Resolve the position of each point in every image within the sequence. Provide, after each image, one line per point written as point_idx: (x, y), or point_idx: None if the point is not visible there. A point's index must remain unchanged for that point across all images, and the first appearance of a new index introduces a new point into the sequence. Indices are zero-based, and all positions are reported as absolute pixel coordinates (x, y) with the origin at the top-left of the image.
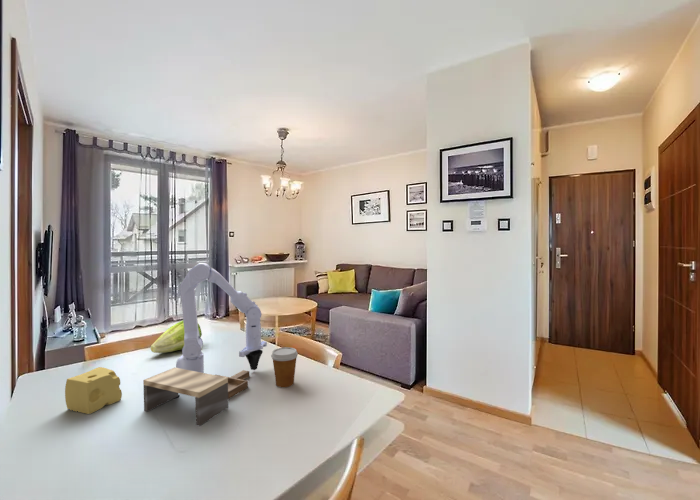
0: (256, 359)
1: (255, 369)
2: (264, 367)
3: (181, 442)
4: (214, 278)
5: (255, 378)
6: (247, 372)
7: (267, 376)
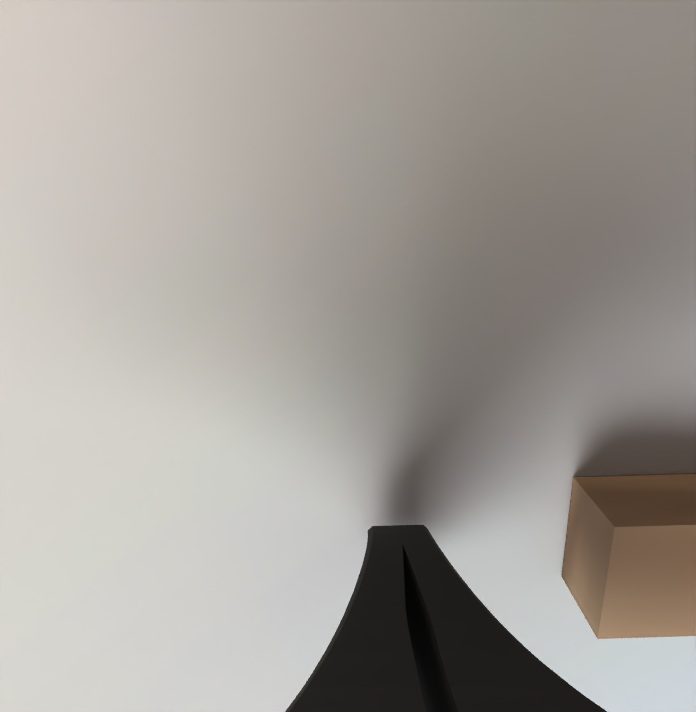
0: (470, 657)
1: (411, 527)
2: (183, 501)
3: None
4: None
5: (614, 347)
6: (665, 523)
7: (481, 211)
